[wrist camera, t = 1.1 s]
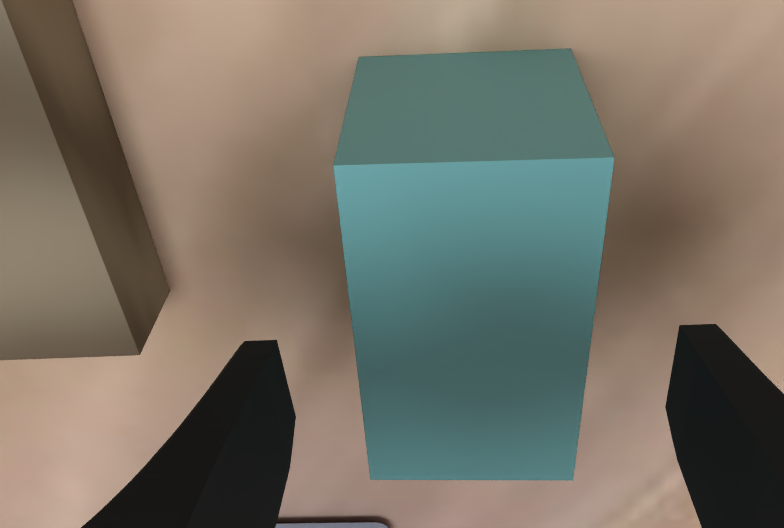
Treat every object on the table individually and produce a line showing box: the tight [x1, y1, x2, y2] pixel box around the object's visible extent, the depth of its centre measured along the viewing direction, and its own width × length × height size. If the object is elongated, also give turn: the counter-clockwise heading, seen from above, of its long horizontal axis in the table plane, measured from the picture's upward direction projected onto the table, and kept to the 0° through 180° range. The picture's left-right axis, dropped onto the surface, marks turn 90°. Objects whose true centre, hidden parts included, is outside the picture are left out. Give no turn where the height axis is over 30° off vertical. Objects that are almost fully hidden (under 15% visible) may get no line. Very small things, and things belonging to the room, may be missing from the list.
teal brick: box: [333, 49, 614, 480], centre depth 16 cm, size 8×4×5 cm, turn 3°
